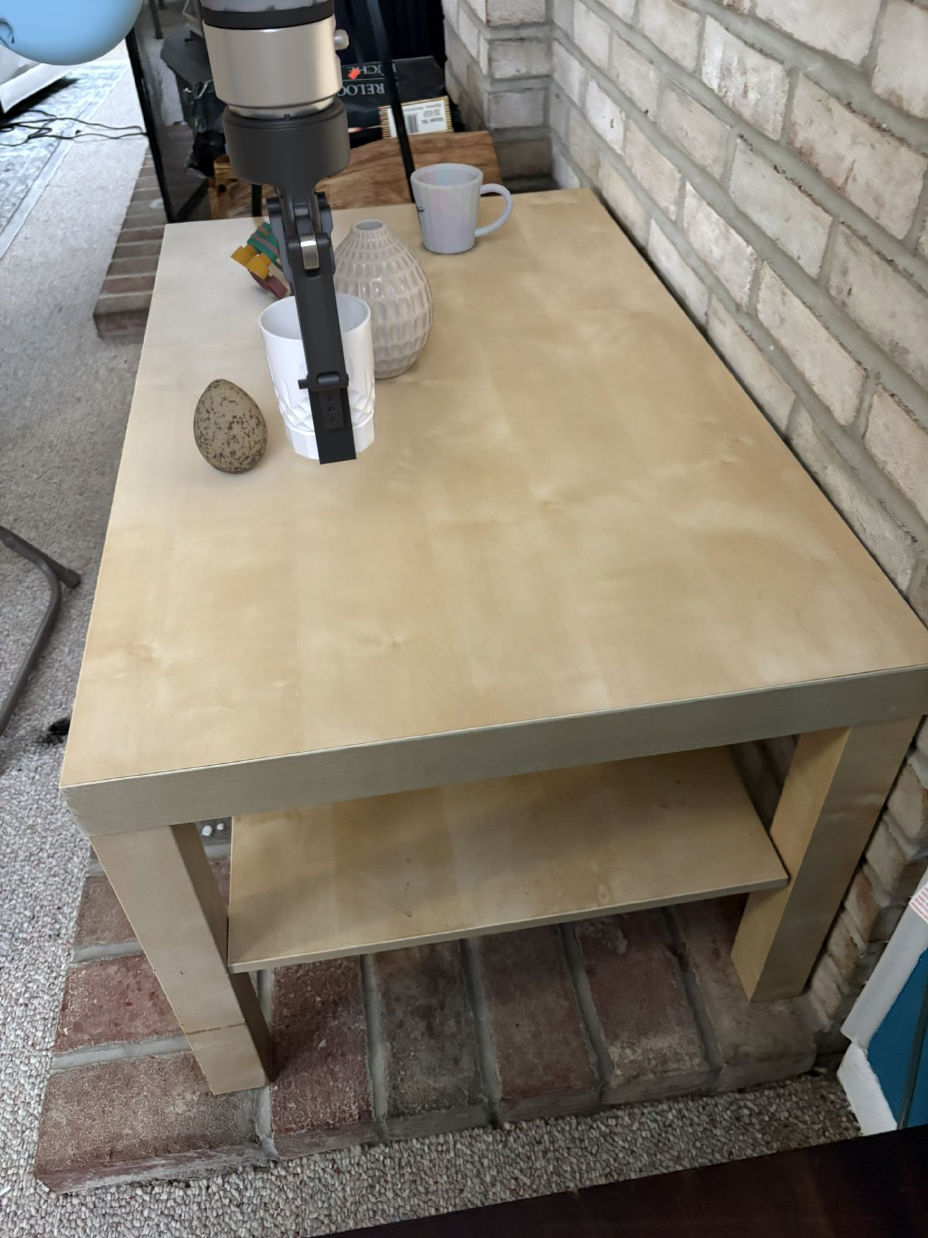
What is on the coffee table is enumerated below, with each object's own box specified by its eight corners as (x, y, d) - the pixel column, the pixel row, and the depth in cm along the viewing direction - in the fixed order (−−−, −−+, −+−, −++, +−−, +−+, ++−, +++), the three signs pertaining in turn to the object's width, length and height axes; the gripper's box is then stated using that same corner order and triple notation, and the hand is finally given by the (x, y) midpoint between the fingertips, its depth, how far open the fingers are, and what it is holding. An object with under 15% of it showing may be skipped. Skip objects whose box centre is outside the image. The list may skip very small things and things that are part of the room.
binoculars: (265, 295, 131) (217, 246, 123) (306, 247, 131) (262, 194, 123) (297, 317, 126) (249, 267, 118) (340, 266, 126) (296, 212, 118)
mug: (423, 230, 142) (419, 160, 136) (518, 234, 140) (519, 164, 133) (407, 256, 135) (402, 184, 128) (507, 261, 133) (507, 188, 126)
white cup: (318, 478, 67) (297, 351, 60) (262, 436, 72) (237, 313, 65) (403, 439, 71) (393, 315, 64) (345, 401, 75) (329, 281, 69)
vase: (331, 398, 105) (310, 252, 94) (327, 347, 114) (307, 208, 103) (443, 387, 106) (435, 241, 95) (429, 337, 115) (421, 199, 104)
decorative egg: (189, 472, 95) (165, 384, 88) (243, 442, 99) (223, 356, 92) (235, 496, 91) (213, 407, 85) (288, 464, 95) (271, 376, 89)
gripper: (368, 142, 49) (401, 497, 64) (325, 57, 63) (360, 363, 79) (225, 156, 47) (294, 514, 63) (214, 66, 62) (272, 375, 78)
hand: (331, 430), depth 71 cm, fingers closed on white cup, 8 cm apart
